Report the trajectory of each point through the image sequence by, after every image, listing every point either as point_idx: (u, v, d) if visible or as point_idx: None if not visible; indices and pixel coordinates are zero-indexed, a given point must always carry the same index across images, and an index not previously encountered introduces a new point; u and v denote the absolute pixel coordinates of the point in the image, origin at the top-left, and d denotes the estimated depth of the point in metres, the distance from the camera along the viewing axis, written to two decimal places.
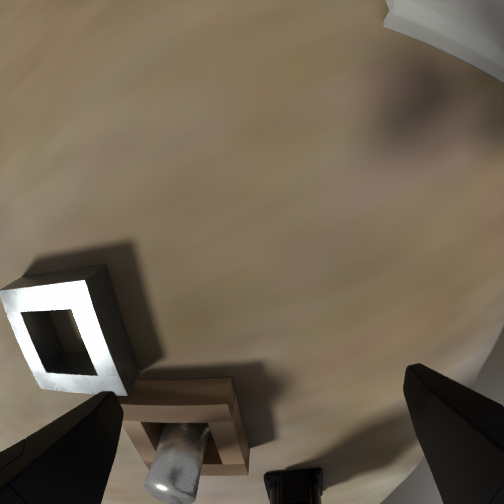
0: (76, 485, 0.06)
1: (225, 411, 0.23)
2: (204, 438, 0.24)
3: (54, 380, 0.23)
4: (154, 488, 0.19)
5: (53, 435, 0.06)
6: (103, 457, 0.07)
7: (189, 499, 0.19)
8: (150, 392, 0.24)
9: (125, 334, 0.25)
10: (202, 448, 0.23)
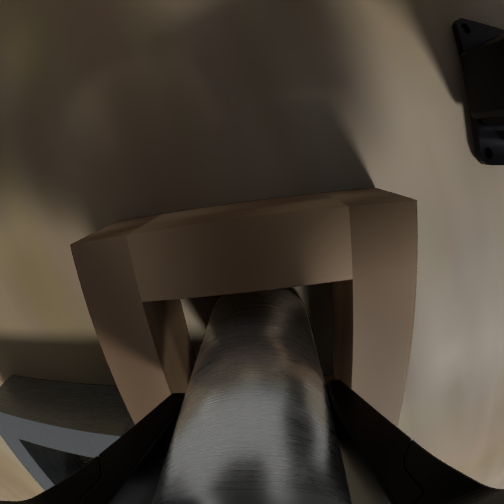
0: None
1: (92, 251, 0.09)
2: (241, 317, 0.10)
3: None
4: None
5: (134, 449, 0.06)
6: None
7: None
8: None
9: (77, 387, 0.14)
10: (236, 338, 0.08)
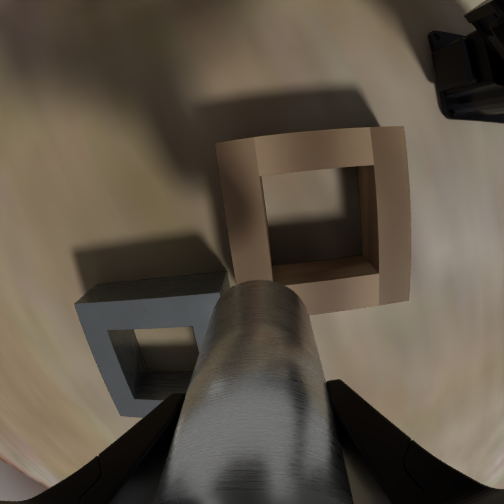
0: None
1: (230, 146, 0.16)
2: (242, 316, 0.10)
3: None
4: None
5: (133, 449, 0.06)
6: None
7: None
8: None
9: (169, 278, 0.21)
10: (238, 338, 0.08)
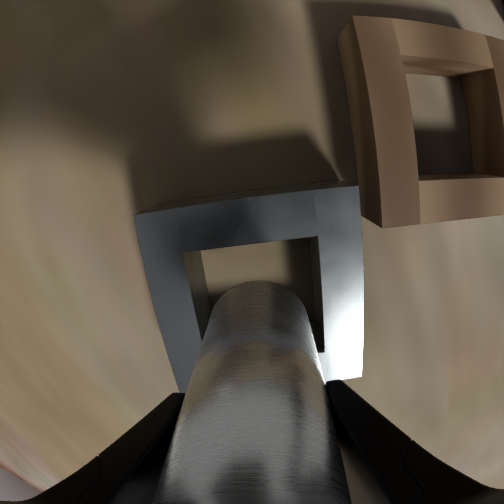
0: None
1: (369, 21, 0.11)
2: (241, 317, 0.10)
3: (340, 339, 0.15)
4: None
5: (134, 448, 0.06)
6: None
7: None
8: (365, 157, 0.14)
9: (266, 188, 0.17)
10: (236, 339, 0.08)
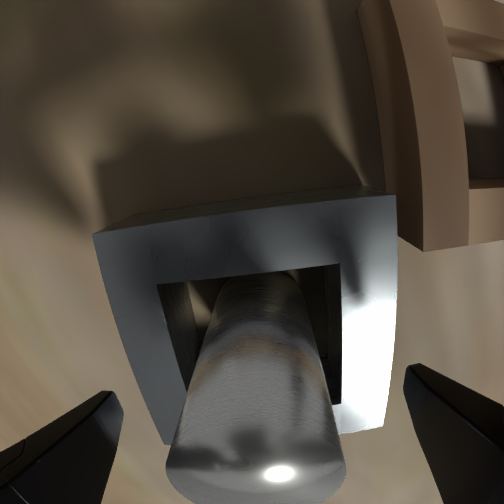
0: (76, 485, 0.06)
1: None
2: (245, 296, 0.11)
3: (361, 389, 0.11)
4: None
5: (53, 435, 0.06)
6: (103, 457, 0.07)
7: (292, 445, 0.05)
8: (399, 155, 0.11)
9: (269, 196, 0.13)
10: (241, 313, 0.10)
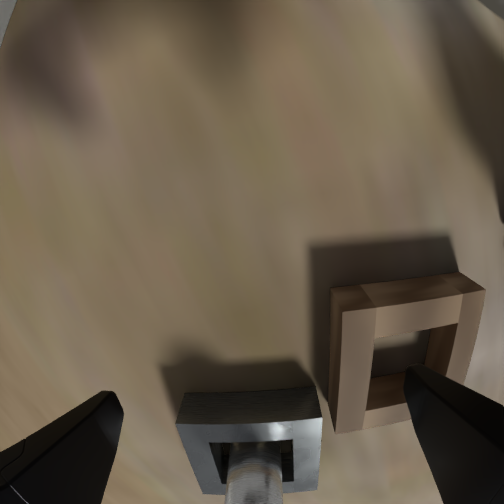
0: (76, 485, 0.06)
1: (355, 315, 0.17)
2: (249, 444, 0.21)
3: (303, 476, 0.21)
4: None
5: (53, 435, 0.06)
6: (103, 457, 0.07)
7: None
8: (333, 387, 0.20)
9: (262, 393, 0.22)
10: (248, 456, 0.20)
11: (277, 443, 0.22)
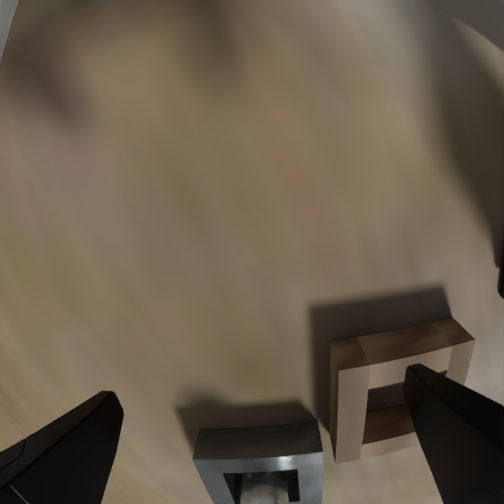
0: (76, 485, 0.06)
1: (350, 372, 0.18)
2: (259, 473, 0.22)
3: (308, 497, 0.22)
4: None
5: (53, 435, 0.06)
6: (103, 457, 0.07)
7: None
8: (333, 425, 0.22)
9: (270, 429, 0.24)
10: (258, 484, 0.21)
11: (284, 470, 0.23)
